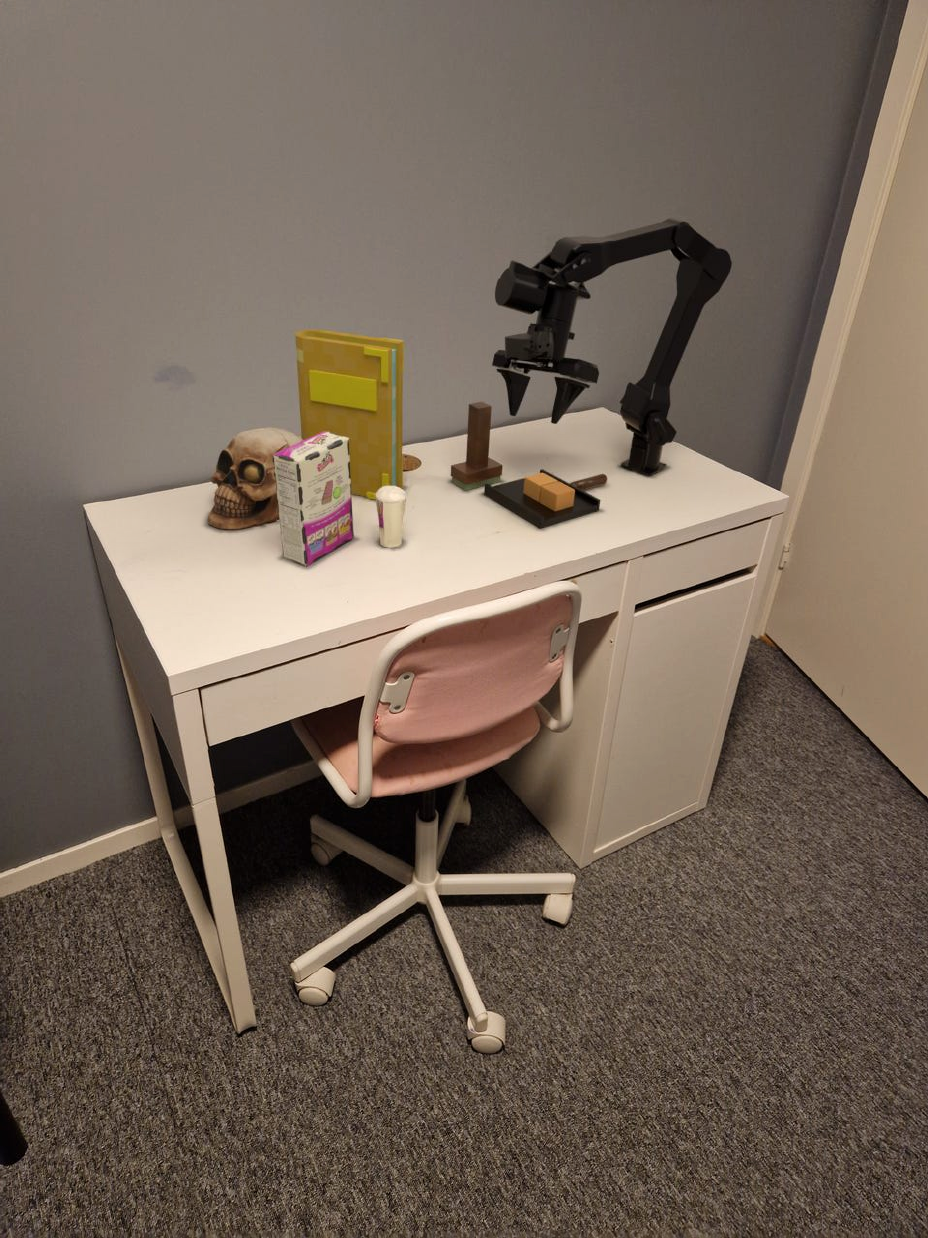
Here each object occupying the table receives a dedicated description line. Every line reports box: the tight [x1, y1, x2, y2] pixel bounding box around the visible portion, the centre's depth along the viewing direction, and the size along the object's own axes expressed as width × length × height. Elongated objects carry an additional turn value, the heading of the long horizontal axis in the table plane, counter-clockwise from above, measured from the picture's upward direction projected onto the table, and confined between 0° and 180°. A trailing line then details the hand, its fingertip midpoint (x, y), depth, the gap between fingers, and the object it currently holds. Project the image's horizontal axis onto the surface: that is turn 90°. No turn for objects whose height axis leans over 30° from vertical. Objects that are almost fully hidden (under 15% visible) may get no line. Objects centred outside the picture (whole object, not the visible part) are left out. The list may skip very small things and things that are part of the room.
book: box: [295, 328, 405, 501], centre depth 140 cm, size 17×7×25 cm, turn 71°
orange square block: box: [540, 482, 575, 511], centre depth 141 cm, size 4×4×3 cm
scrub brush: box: [450, 401, 503, 491], centre depth 147 cm, size 8×4×14 cm, turn 126°
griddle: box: [483, 468, 608, 529], centre depth 147 cm, size 22×15×2 cm
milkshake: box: [375, 485, 412, 549], centre depth 127 cm, size 4×5×10 cm
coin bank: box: [207, 427, 303, 530], centre depth 136 cm, size 16×17×13 cm
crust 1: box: [523, 472, 558, 502], centre depth 144 cm, size 4×4×3 cm
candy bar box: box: [273, 431, 355, 567], centre depth 123 cm, size 11×5×16 cm, turn 148°
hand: (532, 419), depth 140 cm, fingers open, 9 cm apart
